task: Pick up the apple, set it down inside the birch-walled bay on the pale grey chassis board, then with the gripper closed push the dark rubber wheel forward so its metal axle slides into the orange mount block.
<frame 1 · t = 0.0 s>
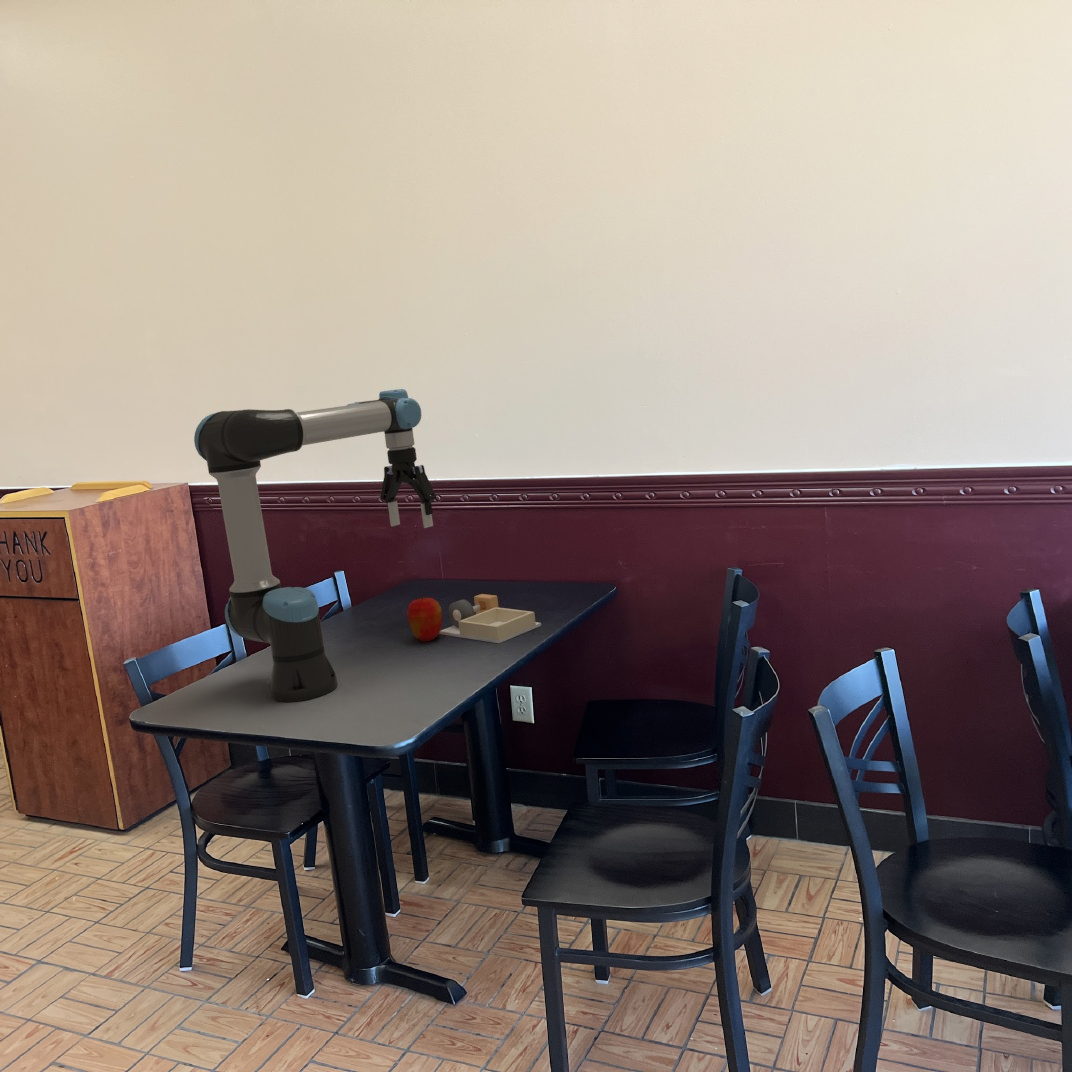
hand: (411, 526, 263), 28 cm above the table, fingers open, 13 cm apart
wheel: (467, 611, 260), point 5 cm above the table, slide at 0.0 cm
apple: (428, 640, 254), on the table
chassis: (490, 629, 256), on the table
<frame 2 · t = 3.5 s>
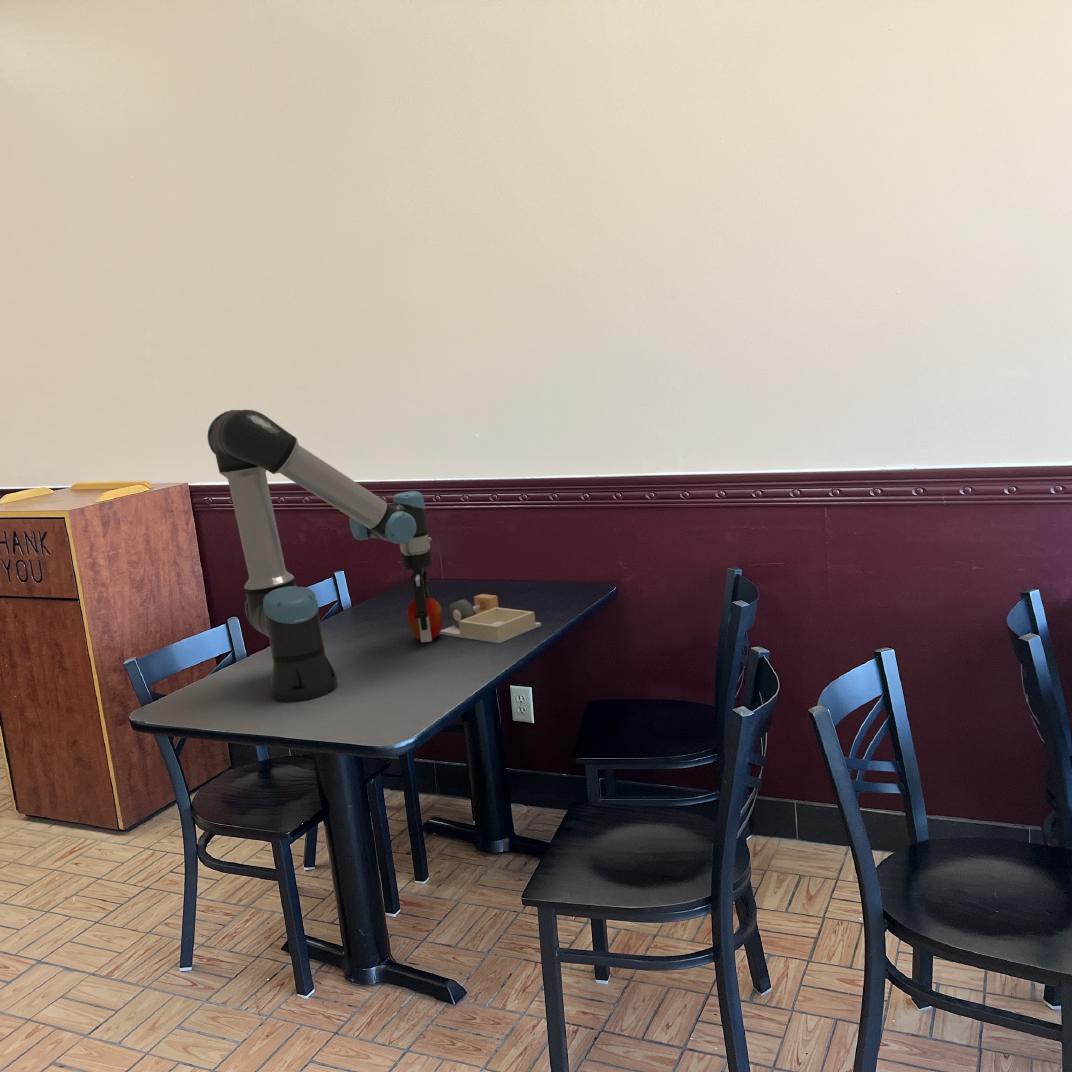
hand: (427, 635, 254), 1 cm above the table, fingers closed on apple, 9 cm apart
apple: (428, 640, 254), on the table, touching gripper
everything else where it was.
when the fingers open (5 cm above the table, at t = 8.1 s): apple drops 4 cm, resting on chassis.
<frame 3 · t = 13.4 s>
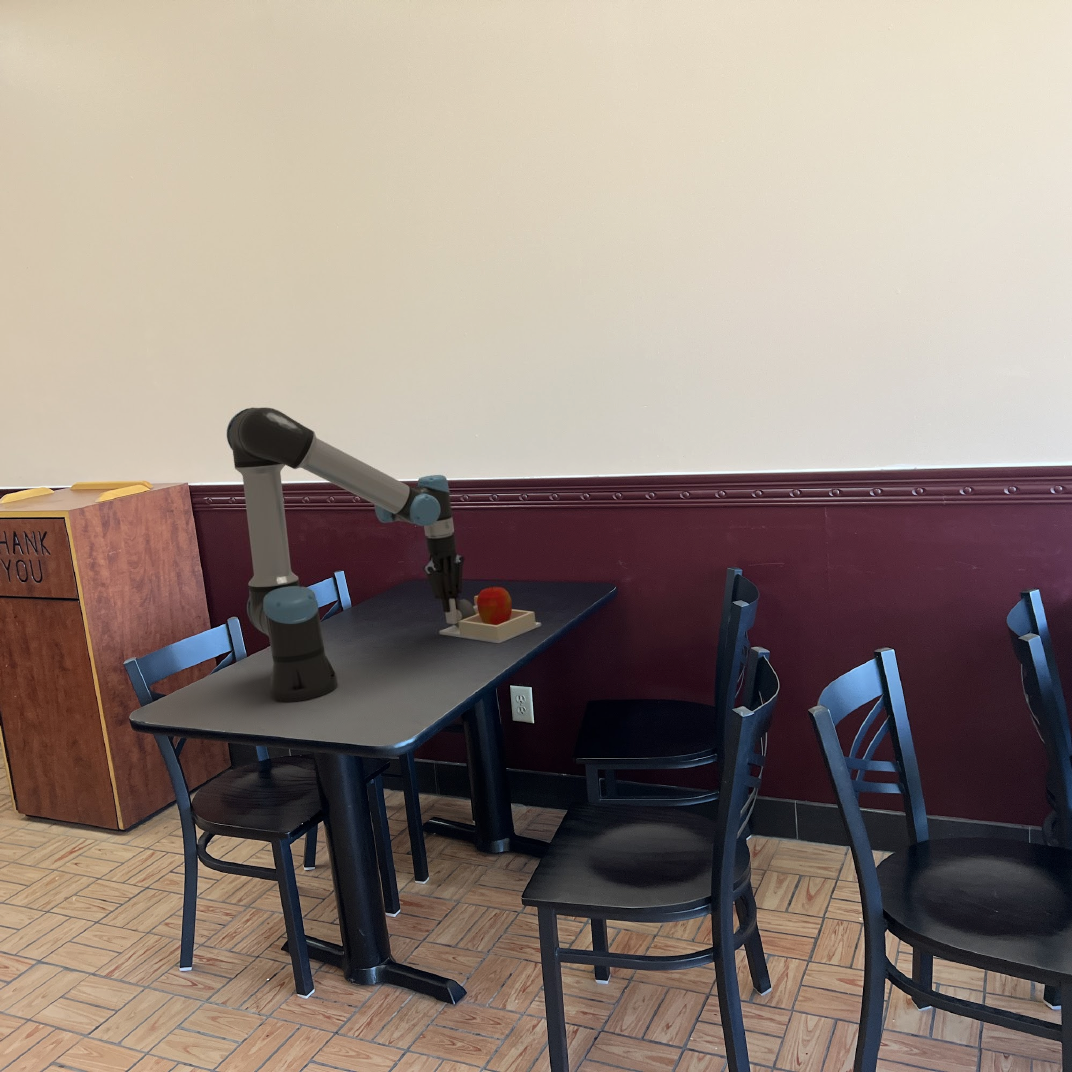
hand: (452, 622, 256), 3 cm above the table, fingers closed
wheel: (468, 611, 260), point 5 cm above the table, slide at 0.2 cm, touching gripper
apple: (497, 629, 253), point 1 cm above the table, touching chassis
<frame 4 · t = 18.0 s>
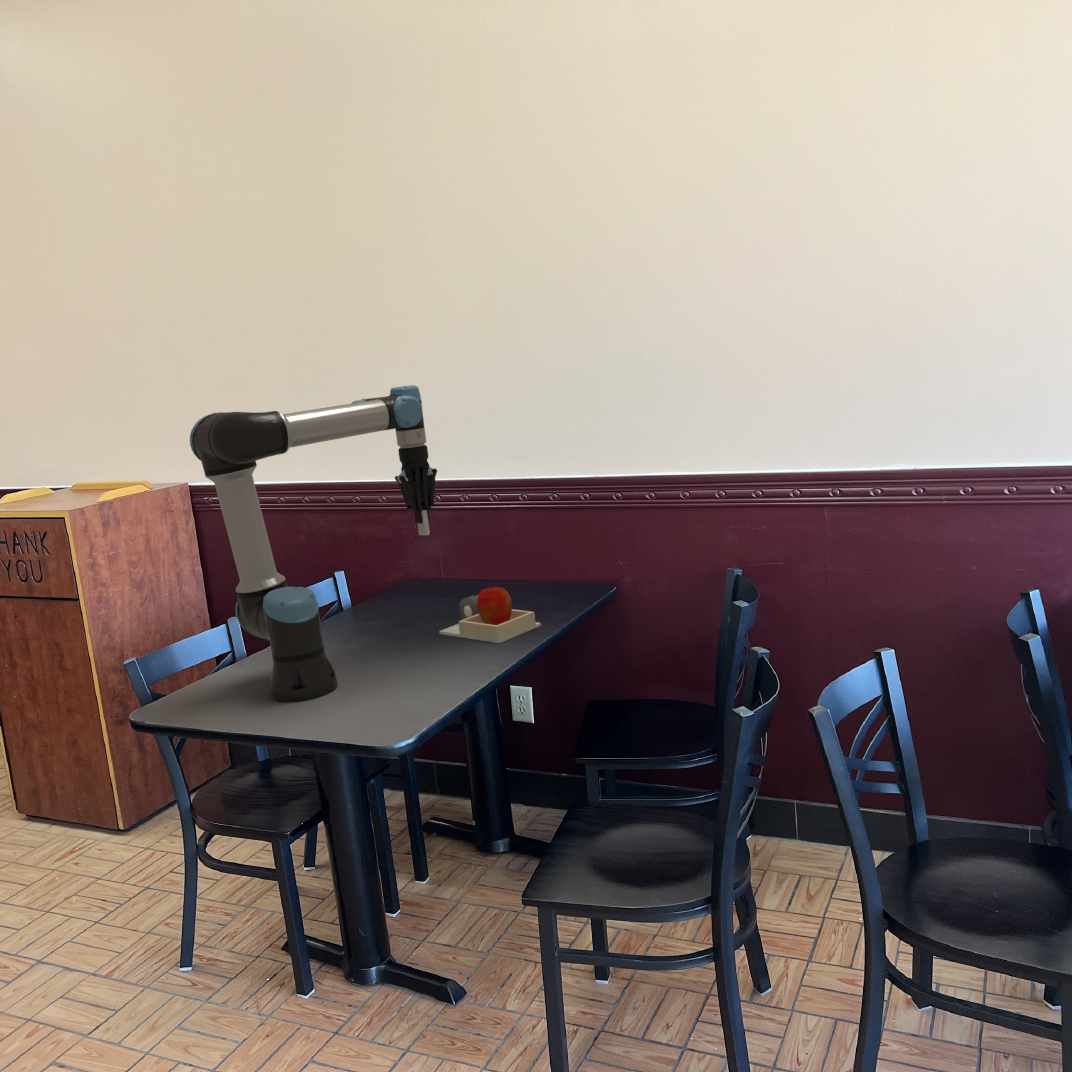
hand: (424, 534, 257), 26 cm above the table, fingers closed
wheel: (478, 607, 263), point 5 cm above the table, slide at 4.0 cm
everything else where it was.
at the end: apple inside the target area (0.4 cm from its centre), point 0.6 cm above the table; wheel slide at 4.0 cm; the gripper is holding nothing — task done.
